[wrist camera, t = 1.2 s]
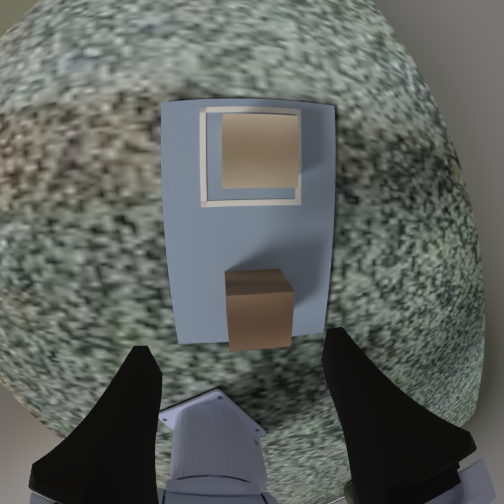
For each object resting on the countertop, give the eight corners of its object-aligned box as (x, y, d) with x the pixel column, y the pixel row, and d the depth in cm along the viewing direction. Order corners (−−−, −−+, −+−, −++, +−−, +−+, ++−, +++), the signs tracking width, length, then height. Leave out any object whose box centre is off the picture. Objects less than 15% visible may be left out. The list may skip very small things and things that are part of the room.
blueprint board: (321, 328, 23) (323, 333, 22) (179, 339, 21) (178, 344, 21) (331, 107, 18) (334, 105, 17) (163, 104, 16) (161, 102, 15)
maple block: (281, 184, 18) (298, 188, 14) (221, 185, 18) (223, 188, 14) (280, 127, 17) (297, 116, 13) (220, 126, 17) (222, 113, 13)
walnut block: (278, 316, 21) (290, 346, 17) (226, 320, 21) (229, 351, 17) (279, 268, 20) (294, 291, 16) (224, 271, 19) (226, 295, 16)
